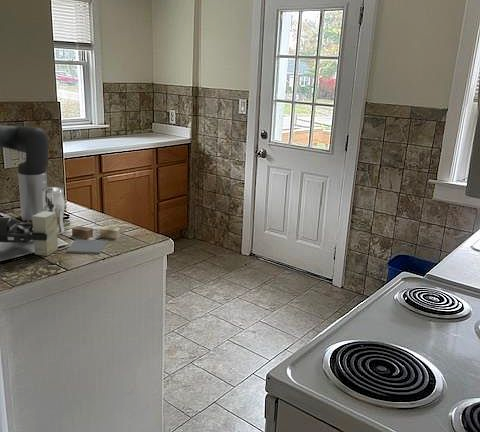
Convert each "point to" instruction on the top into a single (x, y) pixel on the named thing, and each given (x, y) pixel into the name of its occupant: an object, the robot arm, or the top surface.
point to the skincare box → (45, 224)
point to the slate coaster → (87, 246)
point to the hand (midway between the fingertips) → (51, 232)
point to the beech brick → (110, 232)
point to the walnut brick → (82, 232)
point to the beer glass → (54, 204)
